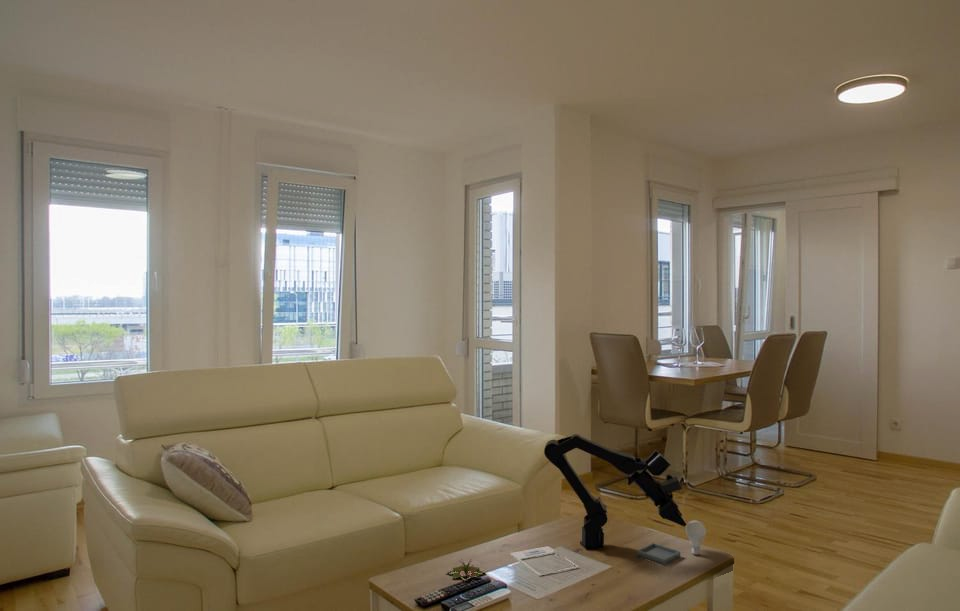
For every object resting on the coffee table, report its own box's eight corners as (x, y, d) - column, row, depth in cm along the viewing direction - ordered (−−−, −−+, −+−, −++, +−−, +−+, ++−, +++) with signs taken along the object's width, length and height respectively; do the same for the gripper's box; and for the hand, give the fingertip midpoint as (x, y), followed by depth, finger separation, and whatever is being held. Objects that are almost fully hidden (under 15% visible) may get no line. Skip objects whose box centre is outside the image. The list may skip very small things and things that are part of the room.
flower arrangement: (466, 588, 176) (466, 572, 176) (437, 575, 184) (438, 560, 184) (494, 575, 184) (494, 560, 185) (465, 563, 193) (466, 549, 193)
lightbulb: (706, 552, 203) (706, 519, 203) (704, 559, 197) (705, 525, 198) (686, 549, 206) (686, 516, 206) (684, 556, 200) (684, 522, 200)
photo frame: (548, 545, 206) (579, 566, 190) (548, 548, 206) (579, 569, 190) (510, 552, 199) (538, 574, 183) (509, 556, 199) (538, 578, 183)
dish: (664, 565, 192) (664, 559, 192) (636, 556, 200) (636, 550, 200) (680, 557, 199) (680, 551, 199) (652, 548, 207) (652, 542, 207)
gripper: (670, 476, 194) (706, 513, 192) (663, 462, 213) (696, 496, 211) (644, 499, 196) (680, 537, 194) (639, 483, 214) (672, 517, 212)
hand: (683, 520), depth 202 cm, fingers open, 9 cm apart
